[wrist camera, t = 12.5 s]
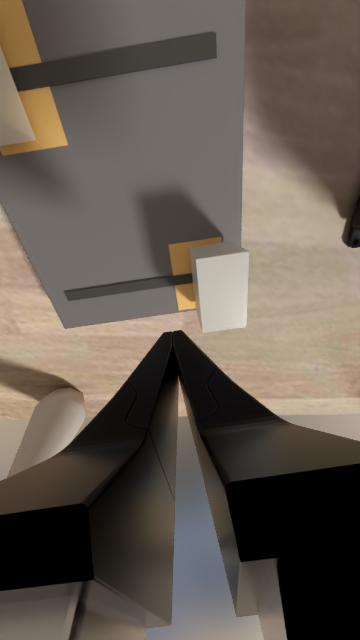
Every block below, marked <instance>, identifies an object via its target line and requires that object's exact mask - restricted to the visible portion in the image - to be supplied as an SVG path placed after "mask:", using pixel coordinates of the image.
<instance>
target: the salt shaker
mask: <svg viewBox="0 0 360 640" xmlns="http://www.w3.org/2000/svg"><path fill="white" fill-rule="evenodd" d="M85 413H86V408H85V402H84V397H83V393H81V392H79V391H77V390H75V389H73V388H71V387H67V388H59V389H56V390H54V391H53V392H51V393H50V394H48V395H47V396H45V397H44V398H43V399H42V400H41V401H40V402H39V403H38V404H37V406H36V407H35V409H34V411H33V414H32V416H31V419H30V422H29V424H28V427H27V429H26V431H25V434H24V436H23V439H22V442H21V444H20V446H19V449H18V451H17V454H16V457H15V459H14V461H13V464H12V466H11V469H10V471H9V474H8V476H7V478H8V477H10V476H13V475H15V474H17V473H19V472H21V471H23V470H26V469H28V468H30V467H32V466H34V465H36V464H39V463H41V462H43V461H45V460H47V459H49V458H51V457H52V456H54V455H56V454H57V453H59V452H60V451H61V450H63V449H64V448H65V447H66V446H67V445H69V444H70V443H71V441H72V440H73V438H74V436H75V435H76V433H77V431H78V430H79V428H80V426H81V425H82V423H83V421H84V419H85Z"/></svg>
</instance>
